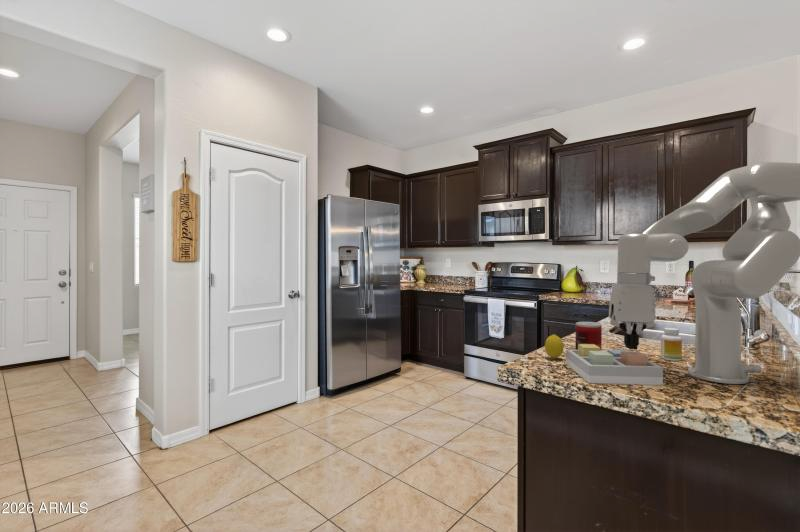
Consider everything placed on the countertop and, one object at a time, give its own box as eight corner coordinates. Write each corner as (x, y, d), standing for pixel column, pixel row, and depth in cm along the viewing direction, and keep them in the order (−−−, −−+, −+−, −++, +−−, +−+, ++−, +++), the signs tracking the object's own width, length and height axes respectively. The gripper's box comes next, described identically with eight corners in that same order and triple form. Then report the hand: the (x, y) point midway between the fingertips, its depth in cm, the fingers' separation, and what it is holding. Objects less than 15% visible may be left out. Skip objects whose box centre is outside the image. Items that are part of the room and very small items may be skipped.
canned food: (602, 355, 127) (602, 322, 127) (600, 361, 121) (600, 326, 120) (577, 352, 131) (577, 320, 131) (573, 357, 125) (573, 324, 125)
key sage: (606, 361, 106) (606, 351, 105) (613, 366, 101) (613, 355, 101) (588, 361, 106) (588, 350, 106) (595, 366, 101) (595, 354, 101)
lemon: (565, 361, 120) (565, 336, 120) (546, 360, 121) (546, 335, 121) (561, 357, 126) (561, 332, 125) (543, 356, 127) (543, 332, 127)
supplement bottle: (686, 361, 120) (686, 330, 119) (668, 361, 120) (668, 330, 119) (673, 356, 125) (674, 327, 125) (657, 356, 125) (657, 327, 125)
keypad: (628, 365, 115) (628, 350, 115) (662, 385, 97) (663, 367, 97) (566, 364, 117) (566, 349, 117) (588, 383, 99) (588, 365, 99)
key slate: (623, 360, 113) (623, 350, 113) (631, 364, 108) (631, 353, 108) (607, 359, 114) (607, 349, 113) (614, 364, 109) (614, 353, 109)
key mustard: (594, 354, 114) (594, 344, 114) (600, 358, 109) (600, 347, 109) (577, 354, 114) (577, 344, 114) (583, 357, 110) (583, 347, 110)
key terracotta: (638, 362, 105) (638, 351, 105) (647, 367, 100) (647, 355, 100) (620, 362, 105) (620, 351, 105) (628, 366, 101) (628, 355, 100)
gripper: (655, 279, 105) (653, 346, 105) (598, 278, 107) (596, 344, 107) (671, 281, 98) (669, 352, 98) (609, 279, 99) (607, 350, 100)
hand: (631, 348), depth 102 cm, fingers closed
